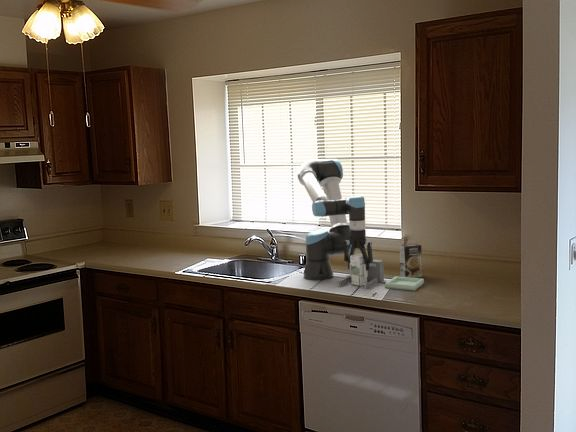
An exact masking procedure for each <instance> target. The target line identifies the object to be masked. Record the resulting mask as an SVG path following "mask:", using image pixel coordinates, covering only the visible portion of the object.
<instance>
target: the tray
mask: <svg viewBox="0 0 576 432" xmlns="http://www.w3.org/2000/svg"><path fill="white" fill-rule="evenodd" d="M424 284H425V279H424V278H421V277H417V278H408V277H401V276H394V277H393V278H391V279H389V280H388V281H386V282H385V283H384V288H385V289H392V290H403V291H412V292H413V291H414V292H416V290H417V289H419V288H420V287H421V286H422V285H424Z"/></svg>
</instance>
